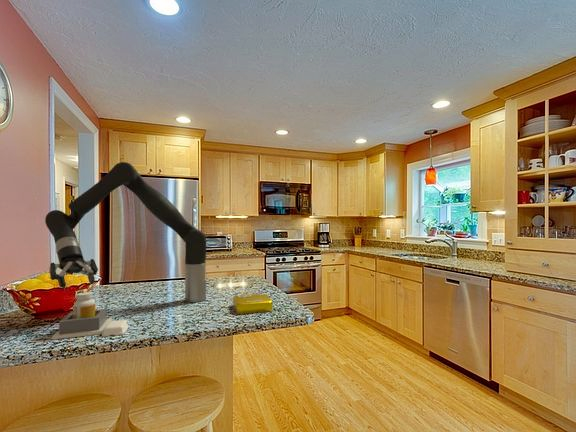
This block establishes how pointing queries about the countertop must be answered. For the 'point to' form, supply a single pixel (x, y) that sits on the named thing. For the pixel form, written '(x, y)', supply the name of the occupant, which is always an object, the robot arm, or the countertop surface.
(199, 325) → the countertop surface
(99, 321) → the pocket plate
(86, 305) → the supplement bottle
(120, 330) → the soap
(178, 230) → the robot arm
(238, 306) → the element tile
